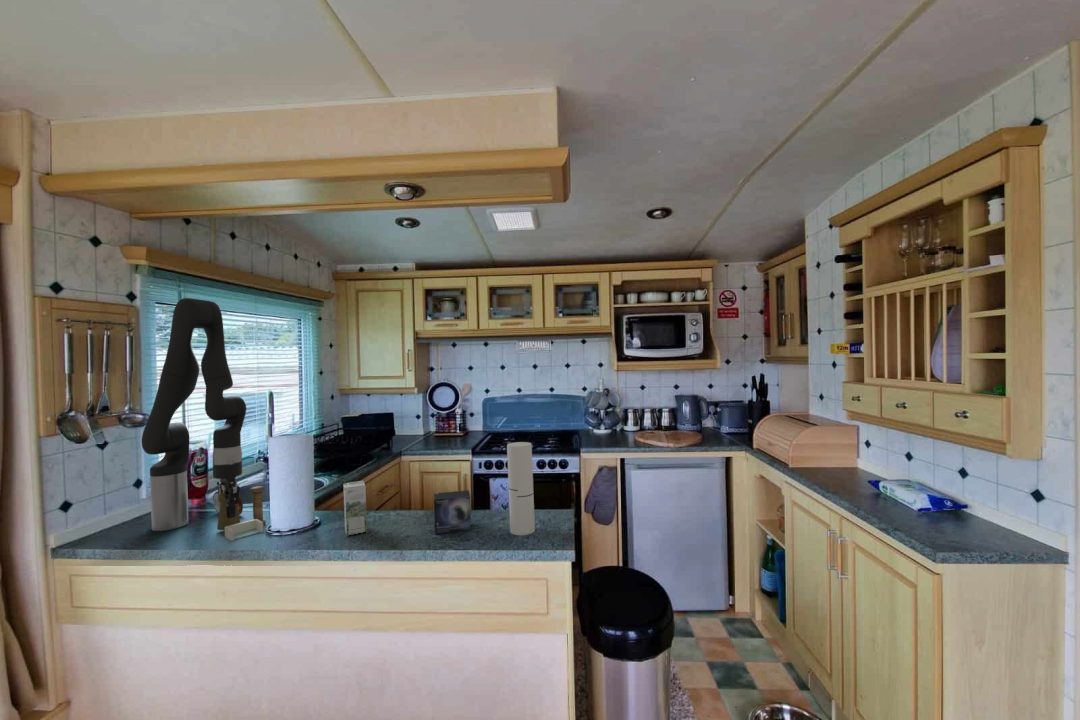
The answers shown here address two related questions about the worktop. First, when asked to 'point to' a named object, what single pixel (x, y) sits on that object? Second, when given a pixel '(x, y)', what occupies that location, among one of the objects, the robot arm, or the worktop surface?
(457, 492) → the small box
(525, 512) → the cylindrical container
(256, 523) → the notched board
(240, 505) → the bread slice
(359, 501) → the syrup box
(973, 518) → the worktop surface
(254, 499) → the bobbin
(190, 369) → the robot arm
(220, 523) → the cork
